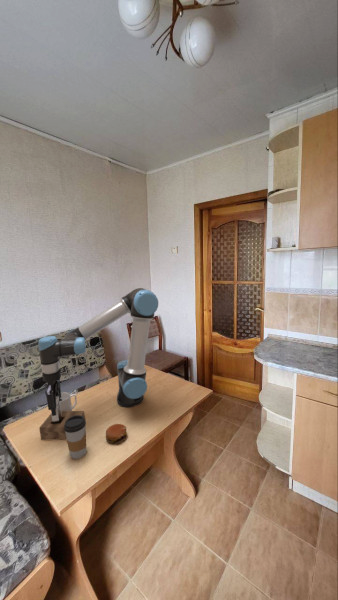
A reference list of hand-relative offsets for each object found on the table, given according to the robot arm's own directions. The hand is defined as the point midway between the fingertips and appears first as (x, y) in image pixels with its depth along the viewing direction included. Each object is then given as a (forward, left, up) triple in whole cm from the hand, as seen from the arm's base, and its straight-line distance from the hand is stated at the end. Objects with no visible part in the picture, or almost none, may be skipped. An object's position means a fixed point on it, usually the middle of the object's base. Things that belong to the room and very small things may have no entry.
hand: (57, 417), depth 116 cm
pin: (0, 0, -2) cm, 2 cm away
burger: (-29, +4, -8) cm, 30 cm away
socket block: (-2, -1, -7) cm, 8 cm away
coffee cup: (-15, +13, -8) cm, 22 cm away
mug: (+2, -13, -8) cm, 15 cm away
